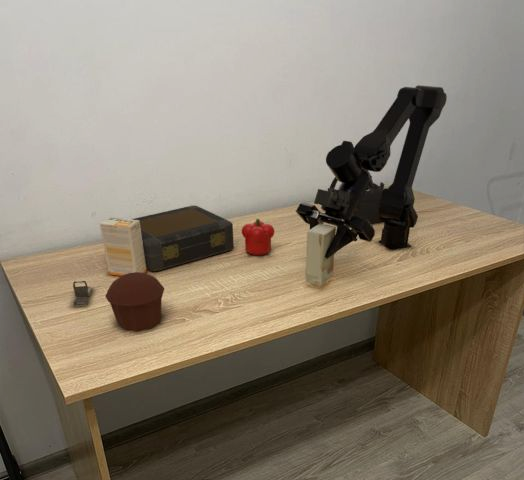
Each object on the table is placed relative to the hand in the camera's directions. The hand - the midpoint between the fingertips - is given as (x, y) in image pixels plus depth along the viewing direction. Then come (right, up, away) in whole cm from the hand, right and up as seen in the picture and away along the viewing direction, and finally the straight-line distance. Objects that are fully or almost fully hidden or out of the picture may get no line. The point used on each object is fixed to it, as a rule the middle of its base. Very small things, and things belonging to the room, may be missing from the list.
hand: (316, 254), depth 119 cm
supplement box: (-45, -3, +11) cm, 47 cm away
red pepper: (-13, +5, +22) cm, 26 cm away
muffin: (-38, -15, -9) cm, 42 cm away
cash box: (-35, +5, +24) cm, 43 cm away
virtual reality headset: (+18, +21, +48) cm, 55 cm away
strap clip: (-52, -10, 0) cm, 53 cm away
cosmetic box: (+1, -5, +5) cm, 7 cm away
